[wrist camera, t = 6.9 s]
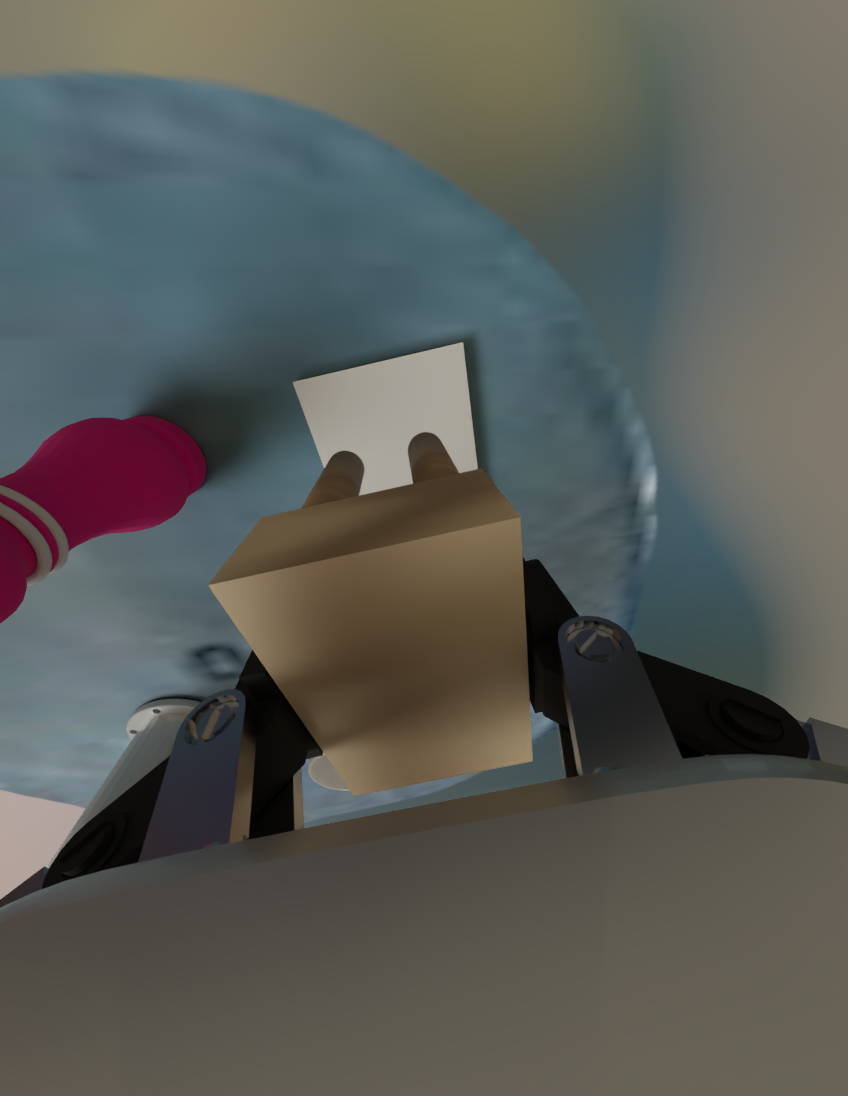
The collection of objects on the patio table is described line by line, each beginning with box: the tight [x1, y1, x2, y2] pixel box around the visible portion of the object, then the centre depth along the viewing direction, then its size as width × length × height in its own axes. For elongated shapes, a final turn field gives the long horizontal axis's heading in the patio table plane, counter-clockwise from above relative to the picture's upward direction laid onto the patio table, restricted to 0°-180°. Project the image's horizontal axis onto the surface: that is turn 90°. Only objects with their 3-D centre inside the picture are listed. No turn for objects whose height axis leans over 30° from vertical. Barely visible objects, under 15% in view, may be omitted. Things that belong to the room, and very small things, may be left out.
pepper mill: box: [0, 416, 206, 623], centre depth 17 cm, size 7×7×20 cm
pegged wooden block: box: [208, 432, 533, 796], centre depth 11 cm, size 5×8×8 cm, turn 11°
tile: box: [293, 342, 478, 496], centre depth 26 cm, size 12×12×1 cm
